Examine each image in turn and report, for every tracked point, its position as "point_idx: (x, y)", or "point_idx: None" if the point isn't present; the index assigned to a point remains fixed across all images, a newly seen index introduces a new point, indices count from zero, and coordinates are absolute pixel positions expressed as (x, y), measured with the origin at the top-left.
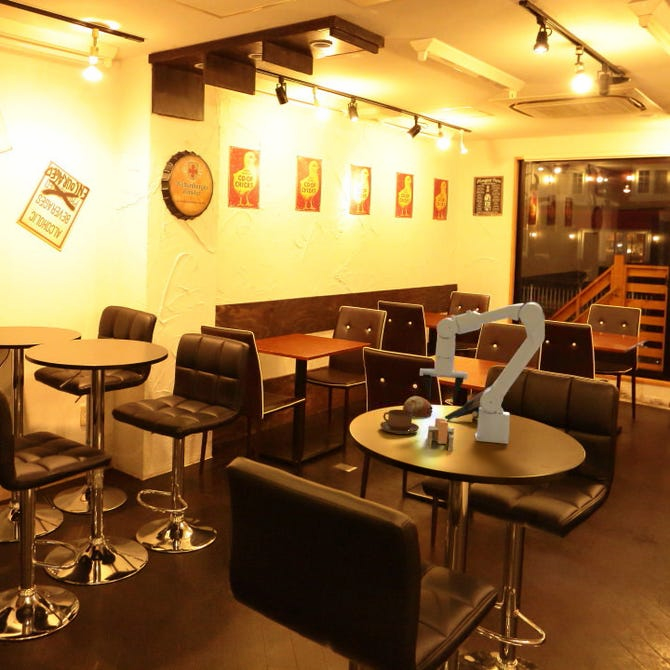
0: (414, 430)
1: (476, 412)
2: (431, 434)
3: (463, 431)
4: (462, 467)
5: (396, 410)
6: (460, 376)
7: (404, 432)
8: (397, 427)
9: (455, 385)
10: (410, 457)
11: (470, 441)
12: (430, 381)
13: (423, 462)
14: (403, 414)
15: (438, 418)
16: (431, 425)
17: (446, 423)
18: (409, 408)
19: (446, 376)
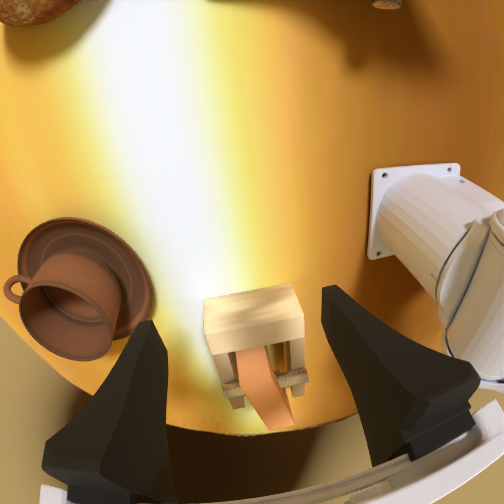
0: (149, 312)
1: (398, 5)
2: (242, 402)
3: (324, 140)
4: (315, 413)
5: (26, 291)
6: (443, 457)
7: (127, 331)
8: (93, 325)
9: (369, 434)
10: (214, 419)
11: (348, 266)
12: (173, 486)
13: (245, 425)
14: (55, 273)
15: (252, 385)
16: (215, 337)
17: (289, 423)
18: (14, 21)
19: (310, 500)
